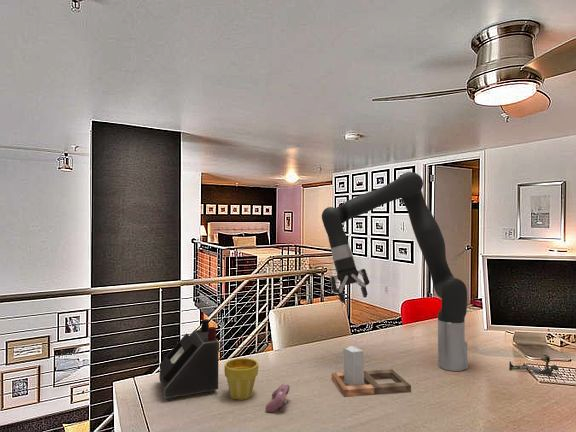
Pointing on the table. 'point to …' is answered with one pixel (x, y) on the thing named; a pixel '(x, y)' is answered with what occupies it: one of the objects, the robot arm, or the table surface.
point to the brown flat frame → (373, 383)
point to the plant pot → (241, 377)
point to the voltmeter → (191, 364)
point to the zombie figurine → (537, 370)
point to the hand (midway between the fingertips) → (354, 300)
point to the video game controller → (278, 398)
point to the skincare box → (353, 366)
